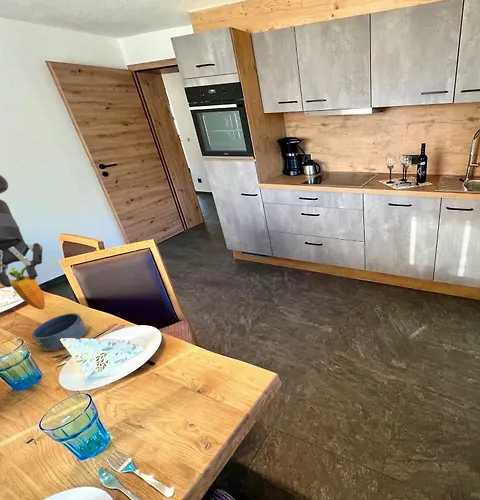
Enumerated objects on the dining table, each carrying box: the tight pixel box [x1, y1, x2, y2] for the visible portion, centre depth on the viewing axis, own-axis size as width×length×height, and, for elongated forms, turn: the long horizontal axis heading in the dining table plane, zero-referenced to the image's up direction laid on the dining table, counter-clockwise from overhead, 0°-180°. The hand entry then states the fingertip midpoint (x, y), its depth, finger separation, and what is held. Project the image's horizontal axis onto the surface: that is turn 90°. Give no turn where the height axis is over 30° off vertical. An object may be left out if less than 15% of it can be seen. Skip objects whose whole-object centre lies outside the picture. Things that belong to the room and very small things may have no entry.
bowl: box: [31, 312, 88, 352], centre depth 97 cm, size 12×12×6 cm
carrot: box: [8, 266, 46, 310], centre depth 85 cm, size 5×5×15 cm
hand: (20, 282), depth 82 cm, fingers closed on carrot, 4 cm apart
